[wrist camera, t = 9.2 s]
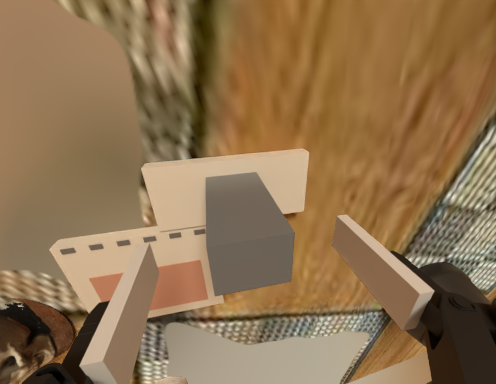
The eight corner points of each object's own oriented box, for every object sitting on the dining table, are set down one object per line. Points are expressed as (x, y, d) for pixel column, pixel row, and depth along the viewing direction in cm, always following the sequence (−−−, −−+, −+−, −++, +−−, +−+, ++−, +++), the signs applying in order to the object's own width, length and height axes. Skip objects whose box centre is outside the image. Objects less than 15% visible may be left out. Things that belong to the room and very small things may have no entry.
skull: (98, 346, 28) (-2, 449, 21) (69, 313, 34) (-18, 386, 27) (38, 294, 22) (-130, 413, 15) (15, 264, 28) (-117, 342, 21)
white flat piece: (223, 293, 30) (224, 303, 28) (103, 316, 27) (97, 328, 26) (212, 218, 24) (213, 226, 22) (58, 239, 21) (48, 250, 20)
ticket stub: (298, 204, 25) (361, 282, 15) (162, 223, 23) (127, 330, 13) (302, 148, 22) (386, 197, 12) (145, 163, 20) (81, 240, 9)
